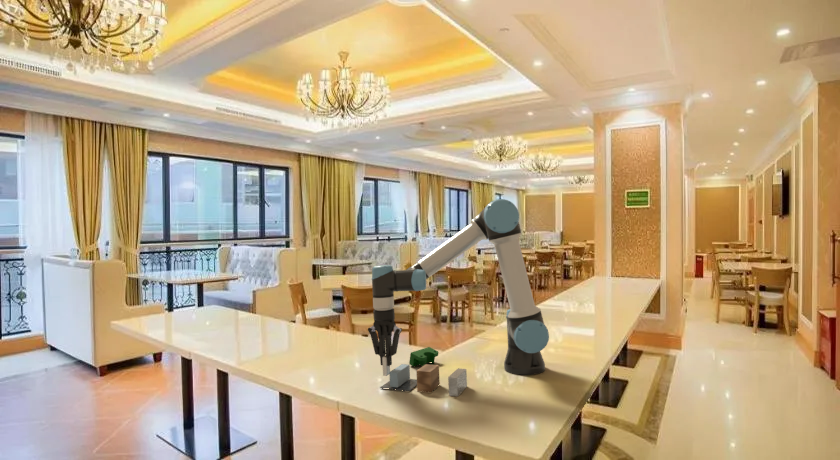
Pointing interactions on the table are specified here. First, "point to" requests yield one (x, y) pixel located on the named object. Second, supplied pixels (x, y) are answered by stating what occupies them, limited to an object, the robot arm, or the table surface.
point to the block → (428, 378)
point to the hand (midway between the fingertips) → (386, 374)
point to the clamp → (423, 356)
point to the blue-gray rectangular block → (399, 375)
